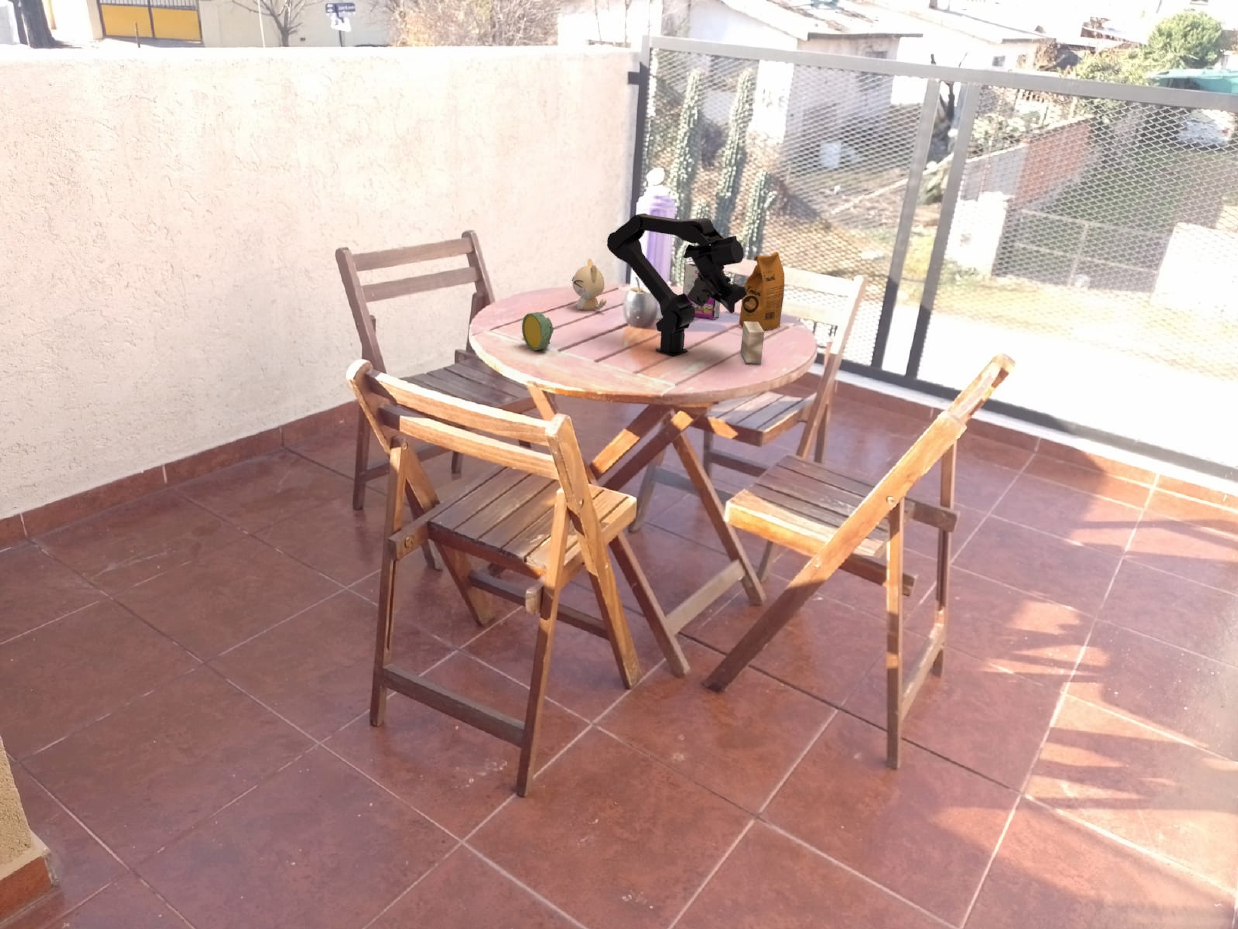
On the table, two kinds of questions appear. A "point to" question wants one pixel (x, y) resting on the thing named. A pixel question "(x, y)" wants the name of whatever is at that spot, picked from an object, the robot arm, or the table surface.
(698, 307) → the candy bar box
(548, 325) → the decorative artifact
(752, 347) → the marked block
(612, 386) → the table surface
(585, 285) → the kitten
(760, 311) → the coffee package
